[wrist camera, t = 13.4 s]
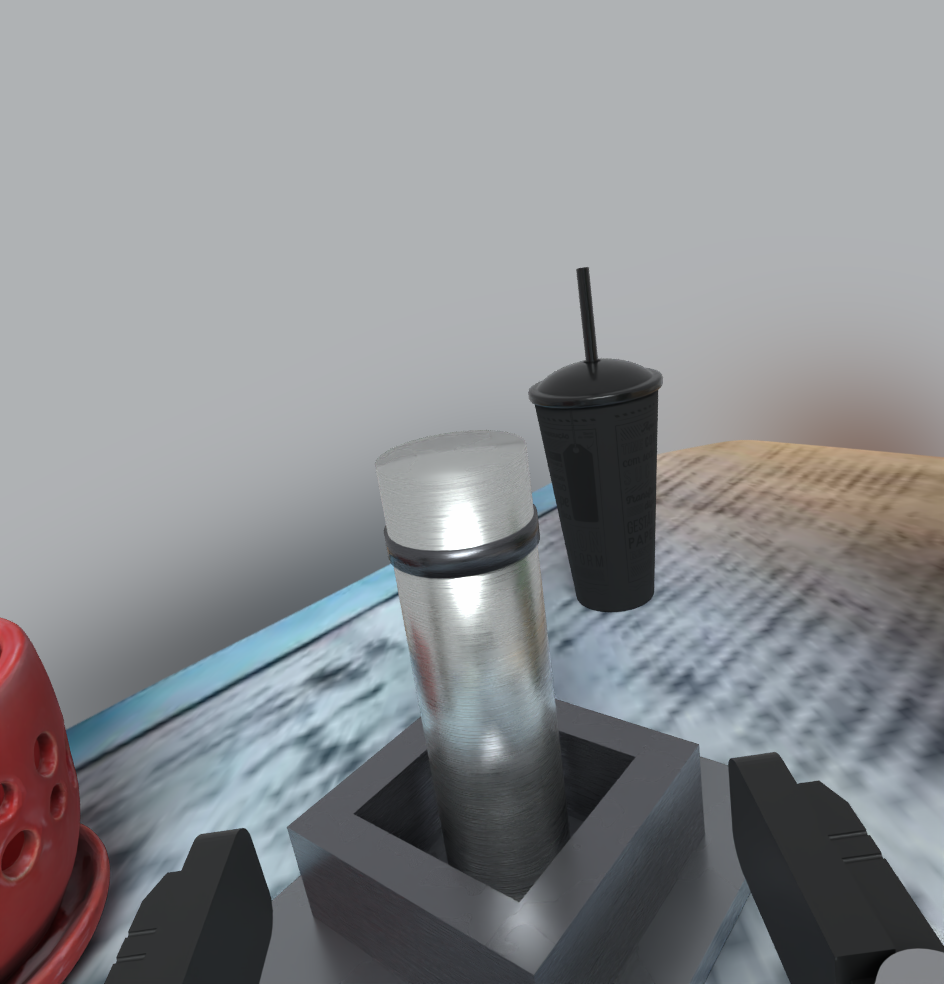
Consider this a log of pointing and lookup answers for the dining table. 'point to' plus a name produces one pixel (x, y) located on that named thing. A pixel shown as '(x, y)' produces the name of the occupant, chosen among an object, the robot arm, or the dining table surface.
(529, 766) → the steel tube
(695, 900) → the collar
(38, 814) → the plant pot
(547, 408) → the drinking cup
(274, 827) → the dining table surface
